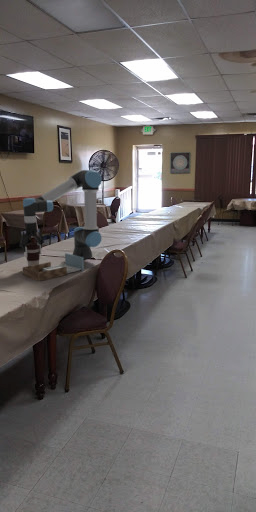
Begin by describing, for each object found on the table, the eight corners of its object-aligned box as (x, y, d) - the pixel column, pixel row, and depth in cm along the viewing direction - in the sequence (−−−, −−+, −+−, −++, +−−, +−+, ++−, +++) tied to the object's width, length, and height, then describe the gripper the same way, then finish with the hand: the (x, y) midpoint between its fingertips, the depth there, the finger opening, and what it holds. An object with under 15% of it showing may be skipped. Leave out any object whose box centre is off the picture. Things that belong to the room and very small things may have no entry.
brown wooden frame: (50, 269, 264) (49, 262, 263) (66, 274, 250) (66, 267, 249) (22, 275, 250) (22, 267, 249) (39, 281, 237) (38, 273, 235)
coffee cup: (41, 266, 261) (40, 244, 257) (26, 268, 258) (24, 245, 254) (40, 263, 270) (39, 241, 266) (25, 264, 267) (24, 243, 264)
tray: (66, 265, 273) (66, 253, 271) (83, 270, 260) (83, 257, 258) (41, 271, 259) (40, 257, 257) (57, 276, 246) (57, 262, 244)
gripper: (42, 219, 267) (44, 251, 273) (11, 223, 252) (14, 257, 257) (48, 220, 262) (50, 253, 267) (17, 224, 247) (20, 259, 252)
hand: (32, 255), depth 262 cm, fingers closed on coffee cup, 10 cm apart
